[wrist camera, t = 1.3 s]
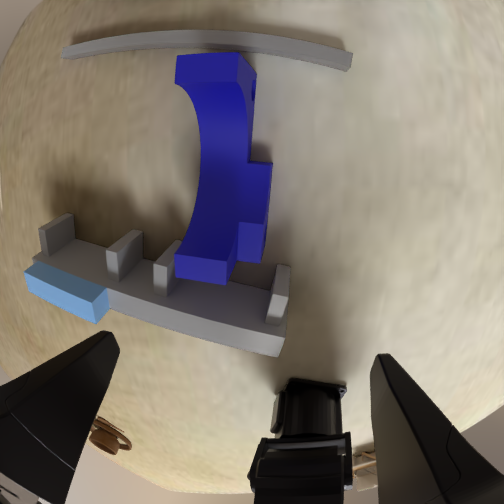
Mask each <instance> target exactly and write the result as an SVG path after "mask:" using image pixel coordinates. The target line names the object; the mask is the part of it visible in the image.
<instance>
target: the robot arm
mask: <svg viewBox="0 0 504 504" xmlns="http://www.w3.org/2000/svg"><path fill="white" fill-rule="evenodd" d="M119 354H120V348H119V346H118V343H117V341H116V339H115V337H114V335H113V333H112V332H109V331H104V330H103V331H100V332H98V333H97V334H95V335H93V336H91V337H89V338H88V339H86V340H84V341H82V342H80V343H79V344H77V345H75V346H73V347H72V348H70V349H68V350H66V351H64V352H63V353H61V354H59V355H57V356H55V357H54V358H52V359H50V360H48V361H47V362H45V363H43V364H41V365H39V366H38V367H36V368H34V369H32V370H31V371H29V372H27V373H25V374H23V375H22V376H20V377H18V378H16V379H14V380H12V381H10V382H8V383H6V384H4V385H2V386H0V504H42V503H41V502H39V501H38V499H39V497H40V498H42V499H43V500H45V501H47V502H49V503H51V504H65V501H66V497H67V494H68V491H69V488H70V485H71V482H72V479H73V476H74V472H75V470H76V467H77V464H78V461H79V458H80V455H81V453H82V450H83V448H84V445H85V442H86V440H87V437H88V434H89V432H90V429H91V427H92V424H93V422H94V420H95V417H96V415H97V412H98V410H99V408H100V405H101V403H102V400H103V398H104V396H105V394H106V391H107V389H108V386H109V383H110V381H111V378H112V374H113V371H114V368H115V366H116V363H117V360H118V357H119ZM370 391H371V420H372V429H373V437H374V446H375V455H376V467H377V480H378V497H379V504H504V475H503V474H501V473H500V472H499V471H498V470H497V469H496V468H494V466H492V465H491V464H490V463H489V462H488V461H487V460H486V459H485V458H484V457H483V456H482V455H481V454H480V453H479V452H477V450H476V449H475V448H473V446H471V445H470V443H468V441H466V439H465V438H464V437H463V436H462V435H461V433H460V432H459V431H458V430H457V429H456V428H455V426H454V425H452V423H451V422H450V421H449V420H448V418H447V417H446V416H445V415H444V414H443V413H442V411H441V410H440V409H439V408H438V407H437V406H436V405H435V403H434V402H433V401H432V400H431V399H430V398H429V397H428V396H427V394H426V393H425V392H424V391H423V390H422V389H421V388H420V386H419V385H418V384H417V383H416V382H415V381H414V380H413V379H412V378H411V376H410V375H409V374H408V373H407V372H406V371H405V370H404V369H403V368H402V367H401V365H400V364H399V363H398V362H397V361H396V360H395V359H394V358H393V357H392V356H391V355H390V354H388V353H386V354H378V355H377V356H376V357H375V360H374V363H373V366H372V368H371V372H370ZM346 392H347V387H346V386H342V385H334V384H327V383H320V382H314V381H307V380H301V379H296V378H291V379H289V380H288V382H287V384H286V386H285V388H284V390H283V391H281V392H279V394H278V396H277V398H276V400H275V402H274V407H273V415H272V422H271V429H270V431H271V433H274V434H275V438H261V441H260V444H259V445H258V448H257V451H256V453H255V456H254V459H253V462H252V465H251V468H250V471H249V472H248V475H247V478H248V479H249V480H250V486H251V490H252V492H253V493H255V498H254V504H343V500H344V491H345V490H352V481H353V464H352V447H351V434H350V432H345V433H343V432H342V412H341V398H342V397H343V396H344V394H345V393H346ZM343 454H345V455H343Z"/></svg>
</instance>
